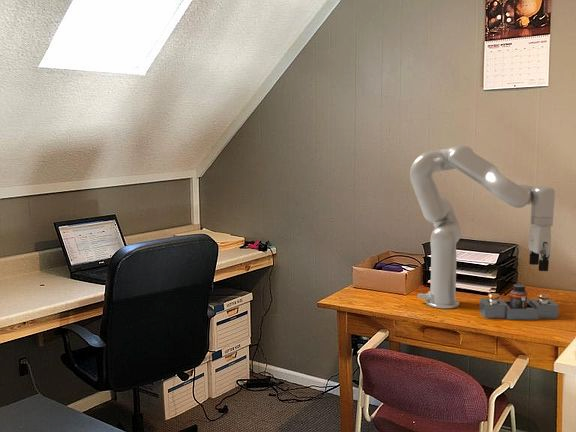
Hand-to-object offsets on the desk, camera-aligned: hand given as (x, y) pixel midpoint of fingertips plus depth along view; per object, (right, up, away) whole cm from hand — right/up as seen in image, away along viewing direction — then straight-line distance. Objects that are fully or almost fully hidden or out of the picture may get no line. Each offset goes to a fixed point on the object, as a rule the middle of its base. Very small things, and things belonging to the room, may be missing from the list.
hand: (538, 267), depth 225 cm
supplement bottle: (-6, -18, +3) cm, 19 cm away
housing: (-6, -18, +3) cm, 19 cm away
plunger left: (-15, -17, +3) cm, 23 cm away
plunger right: (+3, -17, +2) cm, 17 cm away
